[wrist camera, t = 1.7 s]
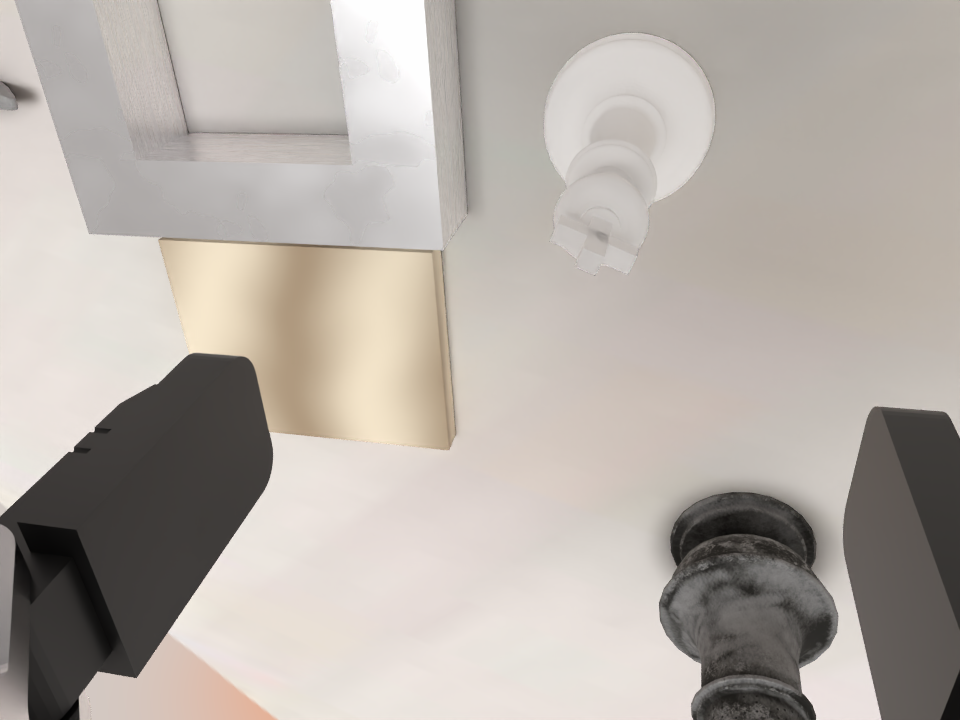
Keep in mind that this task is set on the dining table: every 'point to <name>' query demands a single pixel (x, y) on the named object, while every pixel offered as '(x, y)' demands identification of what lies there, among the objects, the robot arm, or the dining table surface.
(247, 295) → the birch pad
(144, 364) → the dining table surface
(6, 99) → the combination wrench
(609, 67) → the chess piece
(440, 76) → the socket block
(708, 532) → the salt shaker
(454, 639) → the dining table surface
